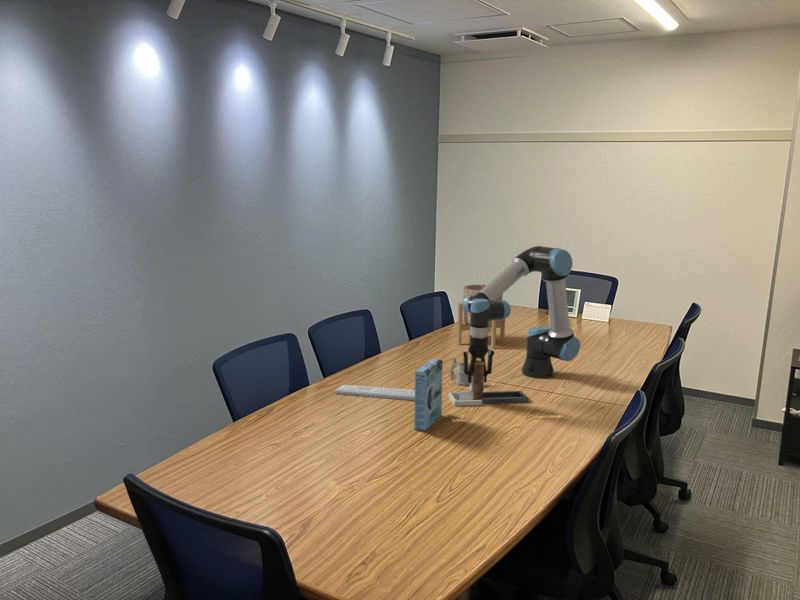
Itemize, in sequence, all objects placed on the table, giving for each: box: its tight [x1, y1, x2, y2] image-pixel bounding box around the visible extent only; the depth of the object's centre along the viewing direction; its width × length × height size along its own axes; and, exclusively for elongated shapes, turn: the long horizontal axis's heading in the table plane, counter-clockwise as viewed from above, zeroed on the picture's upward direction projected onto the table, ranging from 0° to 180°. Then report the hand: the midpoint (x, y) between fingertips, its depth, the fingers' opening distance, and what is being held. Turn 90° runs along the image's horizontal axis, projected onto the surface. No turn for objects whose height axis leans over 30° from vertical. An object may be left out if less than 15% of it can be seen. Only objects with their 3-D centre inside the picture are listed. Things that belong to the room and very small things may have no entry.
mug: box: [449, 357, 470, 387], centre depth 306 cm, size 8×12×12 cm, turn 55°
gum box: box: [413, 358, 443, 432], centre depth 257 cm, size 20×5×23 cm, turn 158°
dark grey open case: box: [481, 390, 529, 405], centre depth 284 cm, size 20×10×3 cm, turn 99°
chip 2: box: [463, 391, 473, 400], centre depth 282 cm, size 3×4×4 cm
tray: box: [447, 390, 483, 407], centre depth 282 cm, size 12×12×3 cm
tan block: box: [470, 358, 484, 400], centre depth 281 cm, size 4×5×17 cm
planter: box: [456, 284, 506, 350], centre depth 383 cm, size 22×23×32 cm
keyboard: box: [334, 384, 415, 402], centre depth 292 cm, size 44×12×2 cm, turn 78°
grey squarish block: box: [456, 391, 466, 401], centre depth 281 cm, size 3×4×4 cm
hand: (476, 389), depth 282 cm, fingers closed on tan block, 4 cm apart
